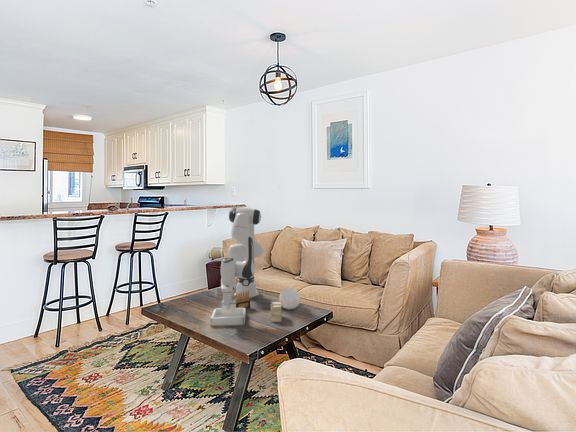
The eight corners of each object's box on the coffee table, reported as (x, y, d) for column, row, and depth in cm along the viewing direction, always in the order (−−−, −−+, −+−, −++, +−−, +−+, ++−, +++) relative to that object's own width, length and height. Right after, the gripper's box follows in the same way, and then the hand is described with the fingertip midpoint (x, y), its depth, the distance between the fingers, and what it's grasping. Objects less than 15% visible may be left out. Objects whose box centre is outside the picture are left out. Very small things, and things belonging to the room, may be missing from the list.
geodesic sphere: (285, 294, 243) (280, 281, 234) (304, 296, 239) (300, 282, 230) (279, 312, 233) (274, 299, 224) (299, 314, 228) (295, 301, 219)
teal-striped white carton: (222, 311, 211) (222, 300, 211) (236, 311, 212) (235, 299, 212) (221, 313, 208) (221, 301, 208) (235, 312, 209) (235, 301, 208)
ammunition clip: (236, 311, 227) (235, 292, 226) (234, 310, 229) (234, 292, 228) (250, 307, 233) (250, 290, 233) (248, 306, 235) (248, 289, 234)
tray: (214, 315, 219) (214, 308, 218) (245, 314, 220) (245, 307, 220) (210, 326, 201) (210, 318, 201) (244, 325, 203) (244, 317, 202)
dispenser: (270, 316, 217) (270, 300, 216) (280, 316, 217) (280, 300, 217) (271, 321, 208) (270, 305, 207) (281, 321, 208) (281, 305, 208)
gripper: (225, 281, 219) (225, 302, 220) (221, 290, 199) (221, 313, 200) (235, 280, 220) (235, 302, 221) (232, 289, 199) (232, 313, 200)
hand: (228, 308), depth 210 cm, fingers closed on teal-striped white carton, 3 cm apart
